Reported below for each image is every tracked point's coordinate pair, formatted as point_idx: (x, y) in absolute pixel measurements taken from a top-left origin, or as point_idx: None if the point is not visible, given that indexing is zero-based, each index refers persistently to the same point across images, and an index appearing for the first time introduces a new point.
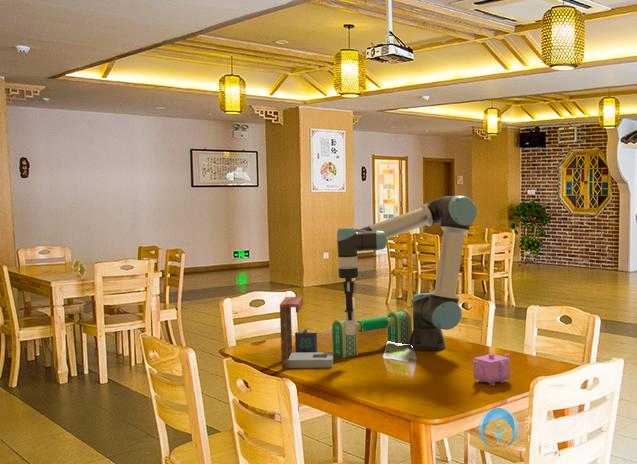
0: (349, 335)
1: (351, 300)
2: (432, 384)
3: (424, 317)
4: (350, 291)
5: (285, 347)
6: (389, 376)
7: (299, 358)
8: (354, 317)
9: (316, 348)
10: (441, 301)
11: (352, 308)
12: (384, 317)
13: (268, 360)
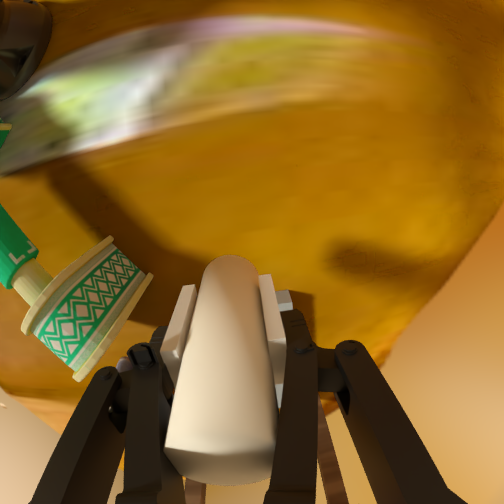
0: (99, 291)
1: (401, 415)
2: (427, 4)
3: None
4: (448, 498)
5: (329, 432)
6: (383, 94)
7: (280, 387)
8: (243, 305)
9: (125, 367)
10: None
11: (367, 353)
12: None
13: None
